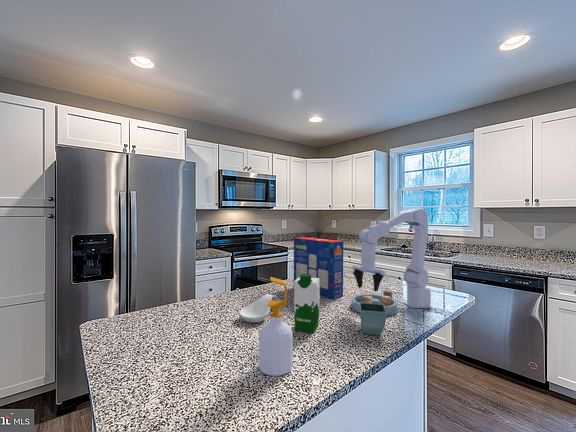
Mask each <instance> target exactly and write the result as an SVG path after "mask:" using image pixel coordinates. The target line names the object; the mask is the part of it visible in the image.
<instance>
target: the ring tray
mask: <svg viewBox="0 0 576 432" xmlns="http://www.w3.org/2000/svg"><path fill="white" fill-rule="evenodd" d="M363 296H371V297H372V304H381V296H383V294H382V295H381V294H375V293H374V294H371V293H369V294H367V293H366V294H365V293H362V294H357V295H354V296H353V297H351V303H350V308H351V309H352V310H353V311H355V312H357V313H359V314H360V305H359V303H363ZM398 304H399V303H398V301H397V300H396V299H395V298H393V297H392V298H391V305H390V306H385V309H386V311H387V315H386V317H388V316H389V317H390V316H393V315H396V314H398V312H399V307H398Z"/></svg>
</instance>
